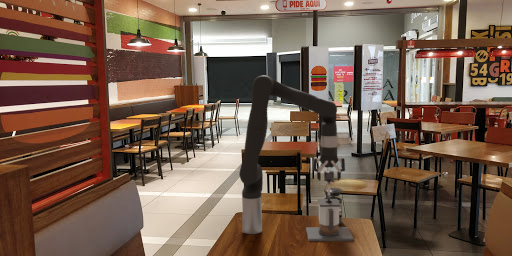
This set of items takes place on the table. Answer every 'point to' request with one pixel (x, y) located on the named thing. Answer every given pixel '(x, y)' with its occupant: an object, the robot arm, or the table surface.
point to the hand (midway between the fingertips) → (328, 180)
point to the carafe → (329, 217)
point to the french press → (335, 193)
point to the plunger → (328, 180)
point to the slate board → (315, 236)
